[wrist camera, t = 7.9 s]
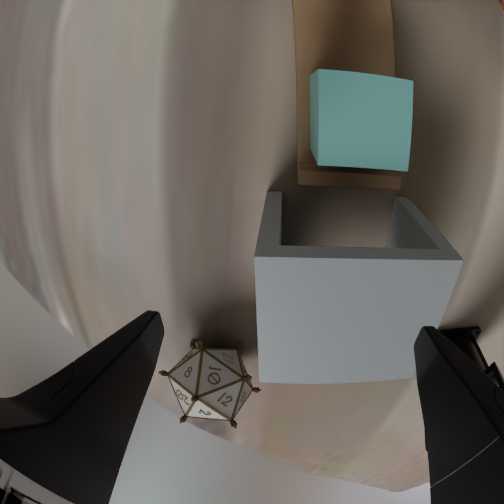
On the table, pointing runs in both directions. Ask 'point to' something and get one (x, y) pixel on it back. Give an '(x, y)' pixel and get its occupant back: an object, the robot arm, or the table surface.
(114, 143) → the table surface
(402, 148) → the block
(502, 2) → the blue cardboard box
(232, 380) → the game die
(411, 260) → the tunnel
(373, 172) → the tan plank with cube
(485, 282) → the table surface
